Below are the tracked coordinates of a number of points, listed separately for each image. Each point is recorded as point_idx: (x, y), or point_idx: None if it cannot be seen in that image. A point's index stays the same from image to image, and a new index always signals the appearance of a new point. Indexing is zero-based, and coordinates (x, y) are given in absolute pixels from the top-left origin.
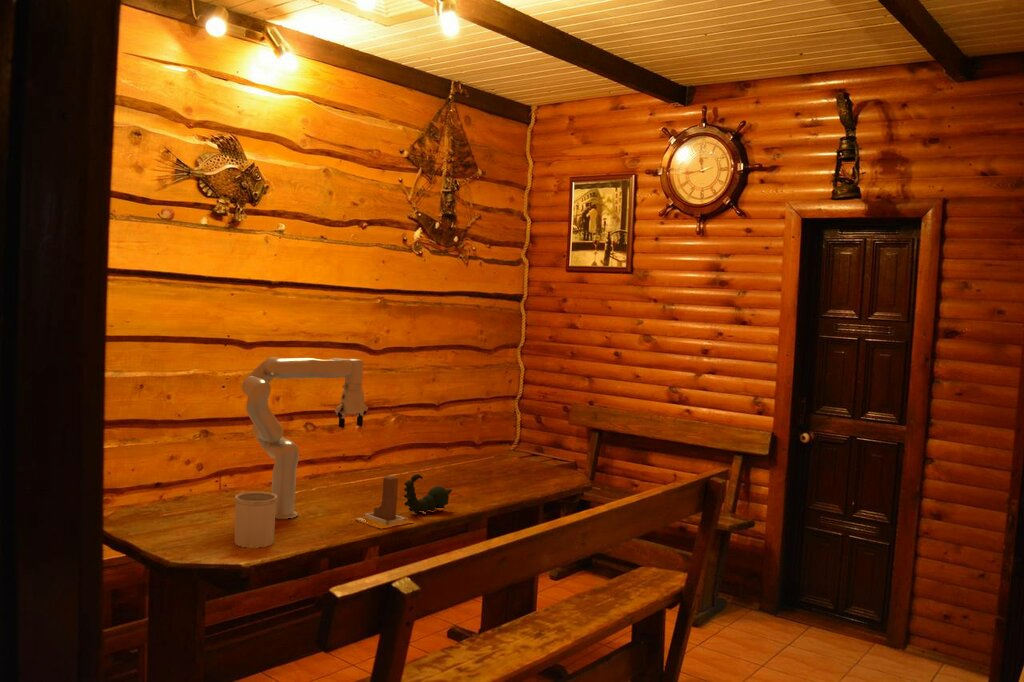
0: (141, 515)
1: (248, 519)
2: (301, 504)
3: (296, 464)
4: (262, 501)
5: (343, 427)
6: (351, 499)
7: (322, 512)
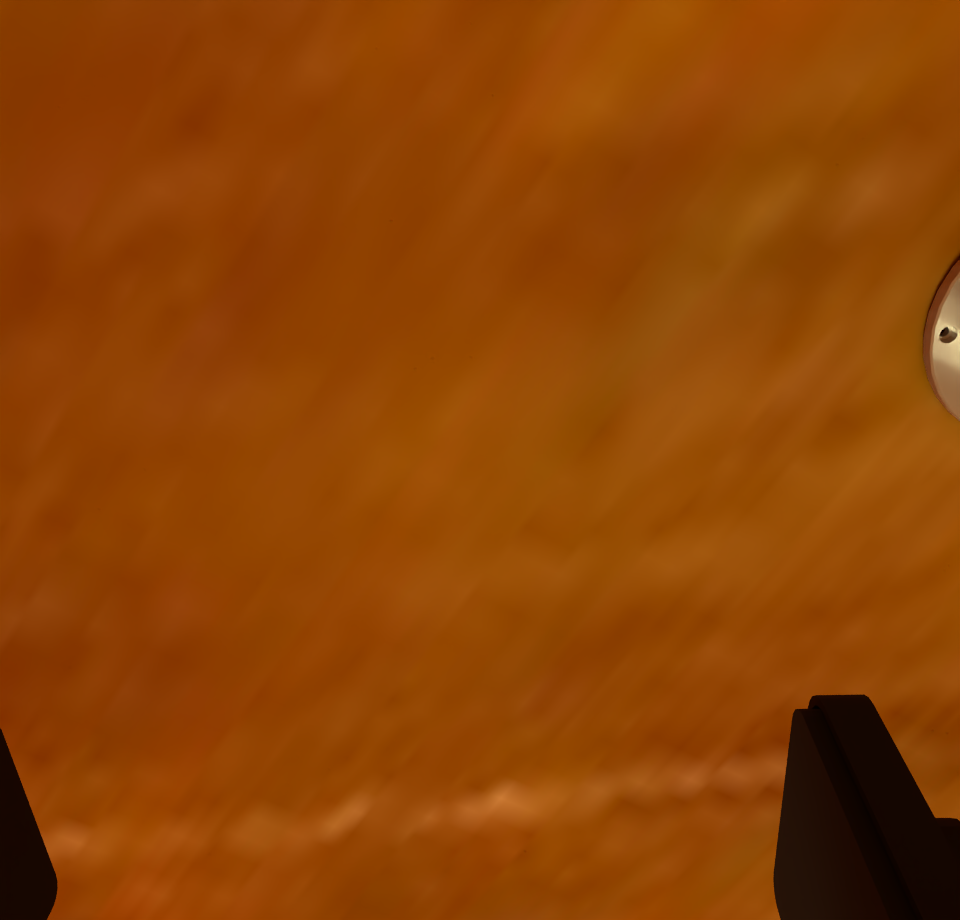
0: None
1: None
2: (684, 534)
3: None
4: None
5: (855, 695)
6: (260, 484)
7: (711, 252)
